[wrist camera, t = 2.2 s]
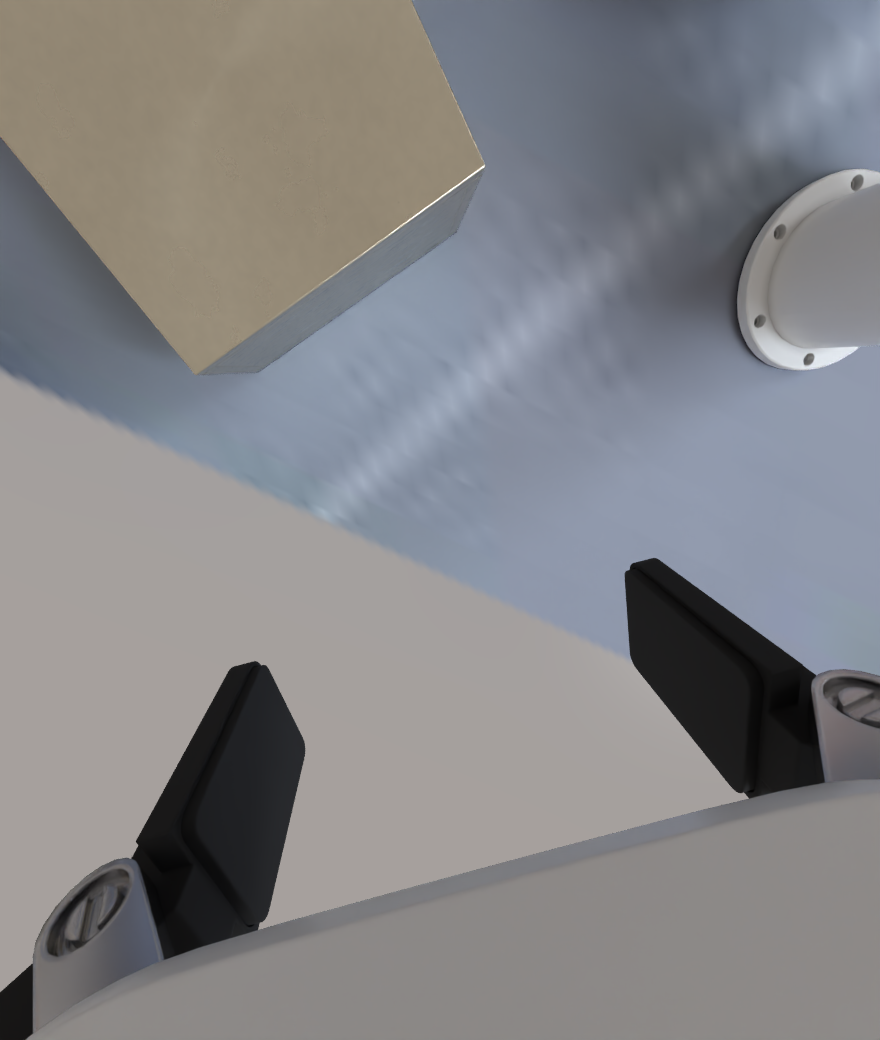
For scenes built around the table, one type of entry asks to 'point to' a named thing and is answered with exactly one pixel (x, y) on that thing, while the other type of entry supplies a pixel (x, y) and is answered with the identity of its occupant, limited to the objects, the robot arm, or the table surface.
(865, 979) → the robot arm
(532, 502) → the table surface
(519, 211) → the table surface
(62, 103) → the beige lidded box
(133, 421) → the table surface
